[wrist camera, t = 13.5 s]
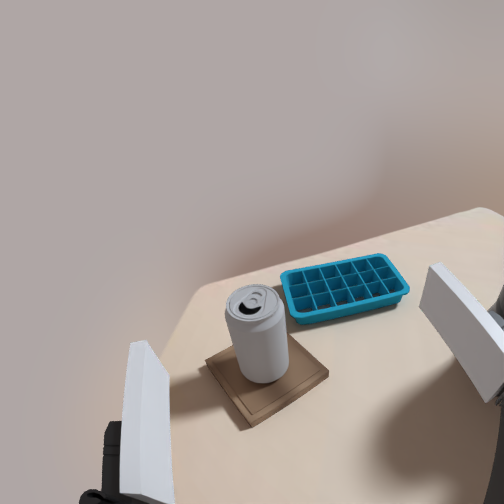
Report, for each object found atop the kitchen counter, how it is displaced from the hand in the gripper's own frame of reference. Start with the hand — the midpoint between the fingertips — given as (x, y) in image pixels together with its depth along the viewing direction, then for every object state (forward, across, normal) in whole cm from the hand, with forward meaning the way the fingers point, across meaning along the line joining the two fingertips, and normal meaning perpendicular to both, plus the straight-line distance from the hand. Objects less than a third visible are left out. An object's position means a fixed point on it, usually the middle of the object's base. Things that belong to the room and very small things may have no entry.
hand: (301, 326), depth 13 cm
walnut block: (+14, -2, -25) cm, 29 cm away
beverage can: (+14, -2, -24) cm, 28 cm away
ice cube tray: (+26, +14, -26) cm, 39 cm away
